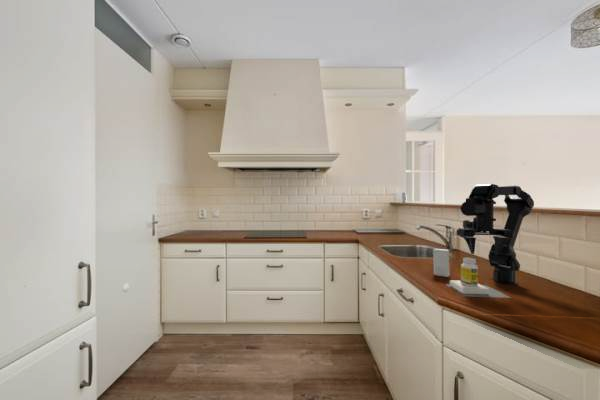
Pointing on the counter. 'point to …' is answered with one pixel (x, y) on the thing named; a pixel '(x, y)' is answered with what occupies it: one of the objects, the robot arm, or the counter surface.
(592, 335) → the counter surface
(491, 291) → the mat
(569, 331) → the counter surface
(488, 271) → the counter surface
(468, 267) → the supplement bottle
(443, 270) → the skincare box
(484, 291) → the tile
